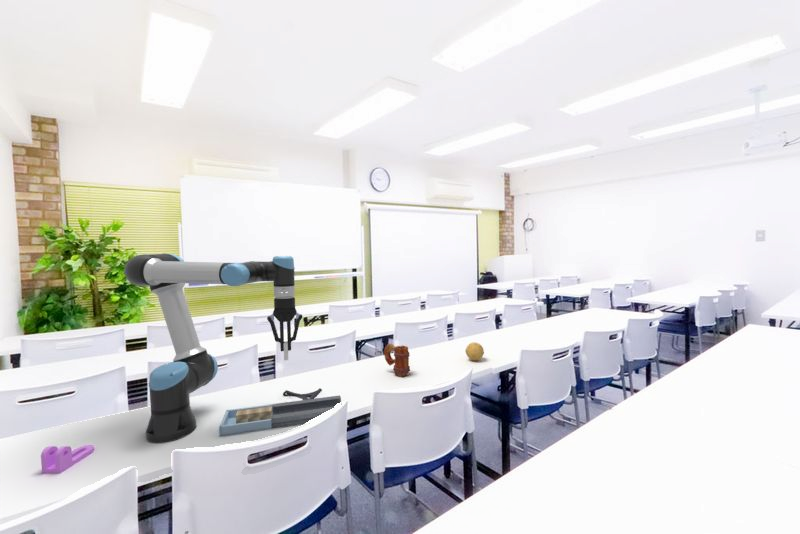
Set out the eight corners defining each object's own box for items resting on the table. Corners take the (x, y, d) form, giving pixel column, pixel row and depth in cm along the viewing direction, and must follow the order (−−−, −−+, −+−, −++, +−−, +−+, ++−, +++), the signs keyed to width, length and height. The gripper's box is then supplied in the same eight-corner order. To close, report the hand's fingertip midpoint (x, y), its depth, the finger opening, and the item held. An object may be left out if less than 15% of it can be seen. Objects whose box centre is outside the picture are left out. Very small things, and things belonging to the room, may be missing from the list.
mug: (414, 373, 183) (413, 344, 183) (405, 378, 177) (405, 348, 176) (390, 369, 191) (389, 341, 191) (381, 373, 184) (380, 344, 184)
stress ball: (470, 358, 210) (459, 349, 206) (481, 345, 210) (470, 336, 206) (479, 366, 200) (467, 357, 197) (490, 353, 201) (479, 343, 197)
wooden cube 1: (236, 426, 131) (235, 415, 131) (237, 421, 135) (237, 410, 135) (248, 424, 132) (247, 413, 132) (249, 419, 136) (249, 409, 136)
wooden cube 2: (248, 424, 132) (247, 413, 132) (249, 419, 136) (248, 409, 136) (259, 423, 133) (259, 412, 133) (260, 418, 137) (260, 407, 137)
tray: (219, 436, 125) (219, 427, 125) (226, 418, 138) (226, 410, 138) (271, 428, 130) (271, 420, 129) (273, 412, 143) (273, 404, 143)
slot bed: (271, 428, 130) (271, 419, 129) (273, 412, 143) (273, 403, 143) (344, 418, 137) (344, 409, 137) (340, 403, 150) (339, 394, 150)
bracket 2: (291, 390, 167) (291, 384, 166) (321, 391, 164) (321, 385, 164) (275, 404, 152) (275, 397, 152) (308, 405, 150) (308, 399, 150)
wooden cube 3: (259, 423, 133) (259, 412, 133) (261, 418, 137) (260, 407, 137) (271, 421, 134) (271, 410, 134) (272, 416, 138) (271, 406, 138)
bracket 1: (60, 473, 106) (59, 450, 105) (42, 473, 106) (40, 450, 105) (98, 449, 119) (97, 428, 118) (82, 449, 119) (80, 428, 118)
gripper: (265, 299, 130) (267, 363, 132) (302, 297, 134) (304, 360, 135) (266, 296, 137) (268, 357, 139) (302, 295, 141) (303, 354, 142)
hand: (286, 359), depth 137 cm, fingers closed
